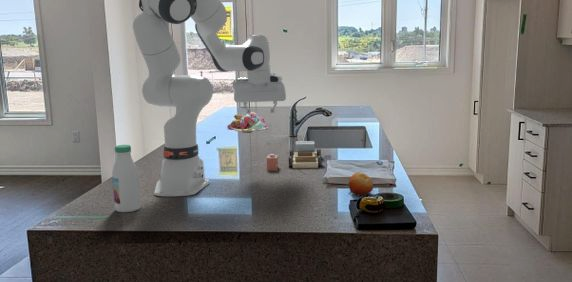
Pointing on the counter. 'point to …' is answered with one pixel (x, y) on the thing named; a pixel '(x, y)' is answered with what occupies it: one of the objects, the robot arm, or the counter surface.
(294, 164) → the chassis
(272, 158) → the block
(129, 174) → the milk bottle
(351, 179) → the fruit
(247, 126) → the candy plate
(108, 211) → the counter surface
